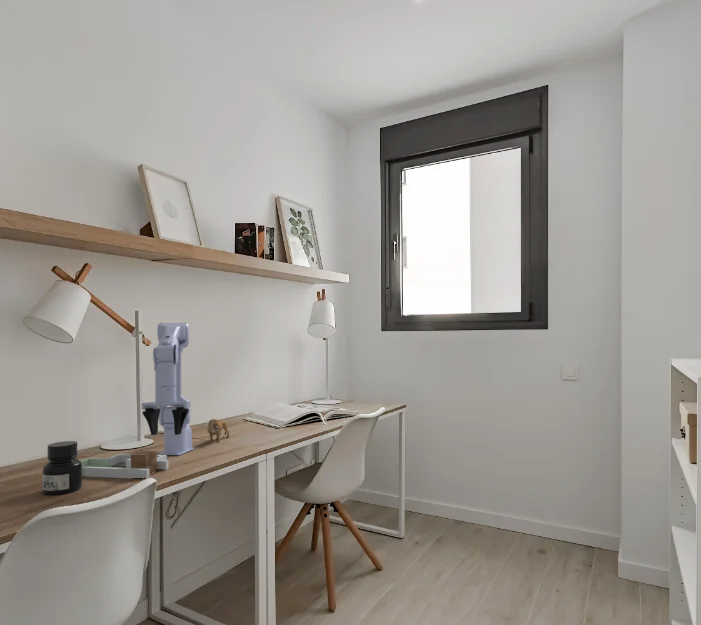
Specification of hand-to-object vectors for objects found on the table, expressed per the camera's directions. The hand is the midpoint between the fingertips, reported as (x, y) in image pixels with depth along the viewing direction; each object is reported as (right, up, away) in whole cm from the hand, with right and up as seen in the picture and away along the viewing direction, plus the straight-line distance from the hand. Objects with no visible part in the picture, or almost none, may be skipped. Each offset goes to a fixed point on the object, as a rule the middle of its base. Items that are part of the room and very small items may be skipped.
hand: (166, 434), depth 142 cm
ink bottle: (-22, -12, -13) cm, 28 cm away
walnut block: (-7, -12, +1) cm, 14 cm away
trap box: (-15, -12, +6) cm, 20 cm away
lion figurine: (+4, -13, +43) cm, 46 cm away
